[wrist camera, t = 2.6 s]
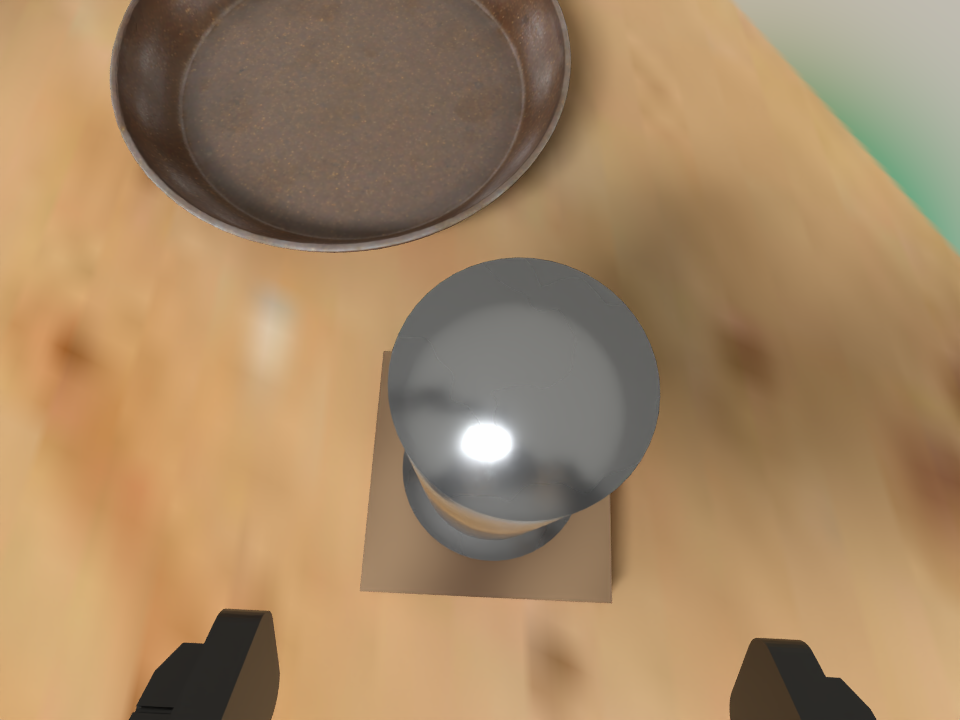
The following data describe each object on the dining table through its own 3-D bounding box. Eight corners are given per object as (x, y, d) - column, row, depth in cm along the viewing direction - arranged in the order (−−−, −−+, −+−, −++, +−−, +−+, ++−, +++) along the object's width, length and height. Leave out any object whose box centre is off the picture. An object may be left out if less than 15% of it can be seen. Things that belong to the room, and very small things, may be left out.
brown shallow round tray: (147, -37, 29) (113, -104, 26) (523, -67, 30) (529, -134, 27) (142, 314, 24) (98, 279, 21) (597, 258, 25) (615, 219, 22)
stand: (364, 589, 21) (359, 590, 20) (386, 360, 23) (383, 351, 22) (605, 601, 21) (612, 603, 20) (601, 371, 23) (608, 363, 22)
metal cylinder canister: (377, 521, 20) (291, 481, 10) (443, 363, 22) (429, 186, 12) (544, 588, 20) (640, 619, 9) (598, 421, 22) (731, 291, 11)
